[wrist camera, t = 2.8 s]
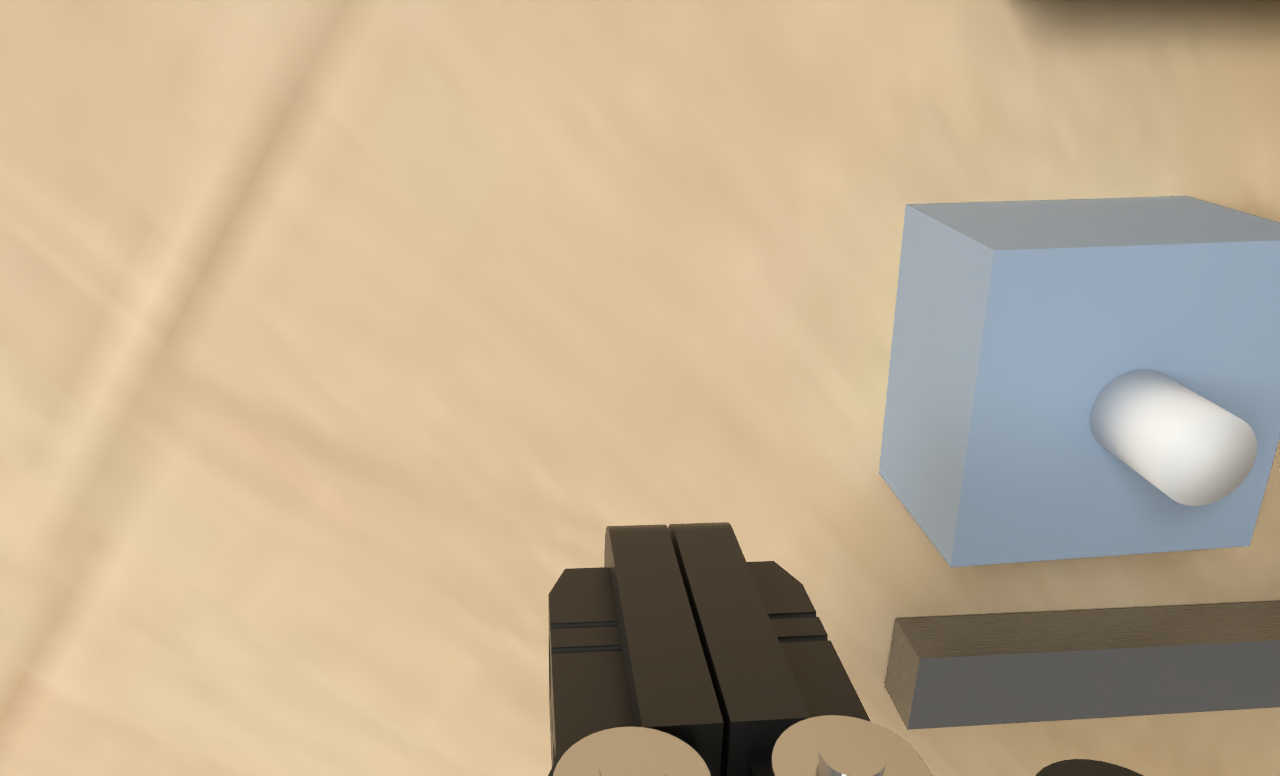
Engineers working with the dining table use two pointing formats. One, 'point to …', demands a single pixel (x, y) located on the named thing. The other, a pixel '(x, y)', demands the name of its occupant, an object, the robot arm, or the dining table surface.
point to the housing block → (1083, 376)
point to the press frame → (1084, 664)
